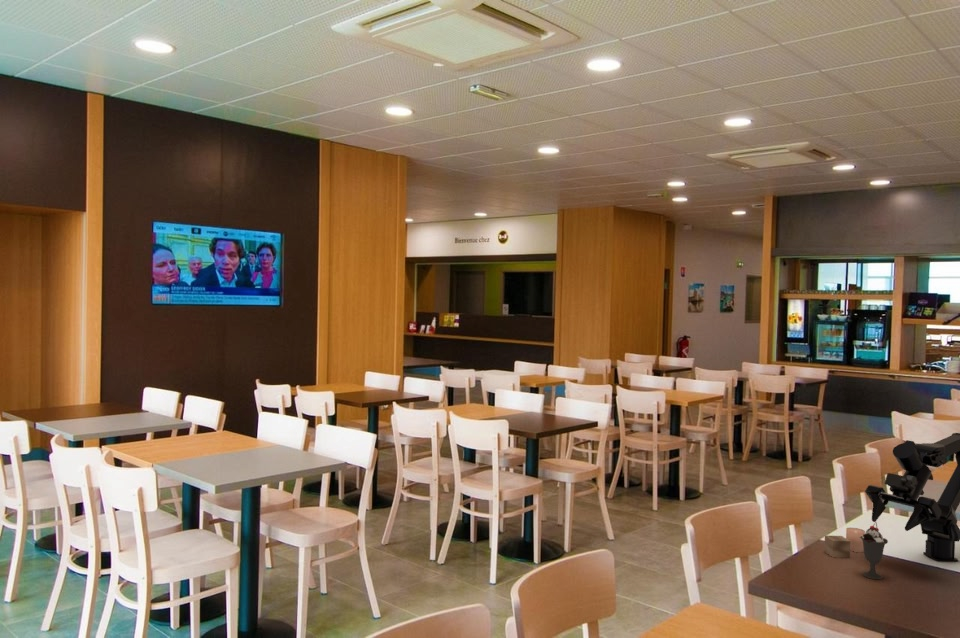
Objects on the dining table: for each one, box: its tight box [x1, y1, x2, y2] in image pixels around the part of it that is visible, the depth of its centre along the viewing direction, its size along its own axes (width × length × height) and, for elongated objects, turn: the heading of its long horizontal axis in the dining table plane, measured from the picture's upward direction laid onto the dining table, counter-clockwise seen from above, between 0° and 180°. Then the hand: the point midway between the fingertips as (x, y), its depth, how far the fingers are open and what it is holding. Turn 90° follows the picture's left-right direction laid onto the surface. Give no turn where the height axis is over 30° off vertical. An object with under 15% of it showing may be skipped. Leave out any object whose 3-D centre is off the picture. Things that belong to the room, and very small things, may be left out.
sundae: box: [860, 519, 889, 580], centre depth 196 cm, size 7×7×15 cm
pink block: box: [845, 527, 866, 553], centre depth 218 cm, size 5×5×6 cm
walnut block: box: [824, 535, 851, 559], centre depth 213 cm, size 5×5×5 cm
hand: (889, 525), depth 199 cm, fingers open, 9 cm apart
